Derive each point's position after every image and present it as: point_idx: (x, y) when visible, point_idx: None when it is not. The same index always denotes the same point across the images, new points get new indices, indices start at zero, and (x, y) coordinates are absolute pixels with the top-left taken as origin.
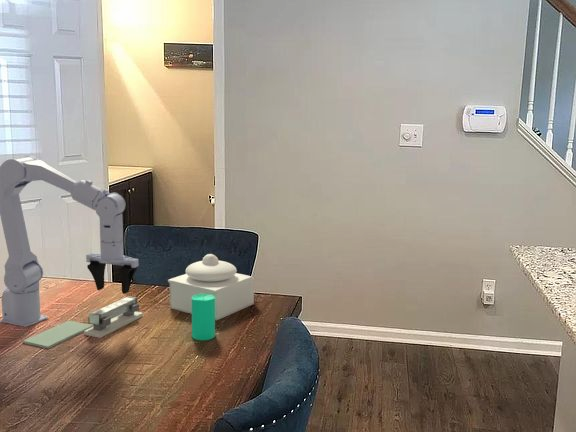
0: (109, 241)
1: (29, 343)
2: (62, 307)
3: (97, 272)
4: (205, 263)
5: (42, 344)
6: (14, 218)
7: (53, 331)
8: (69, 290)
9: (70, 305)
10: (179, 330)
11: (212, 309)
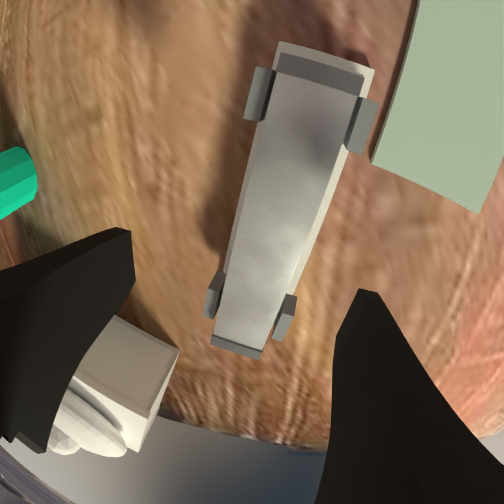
0: None
1: None
2: (493, 334)
3: (382, 454)
4: (55, 429)
5: None
6: None
7: (496, 86)
8: (466, 413)
9: (473, 350)
10: (68, 194)
11: None
